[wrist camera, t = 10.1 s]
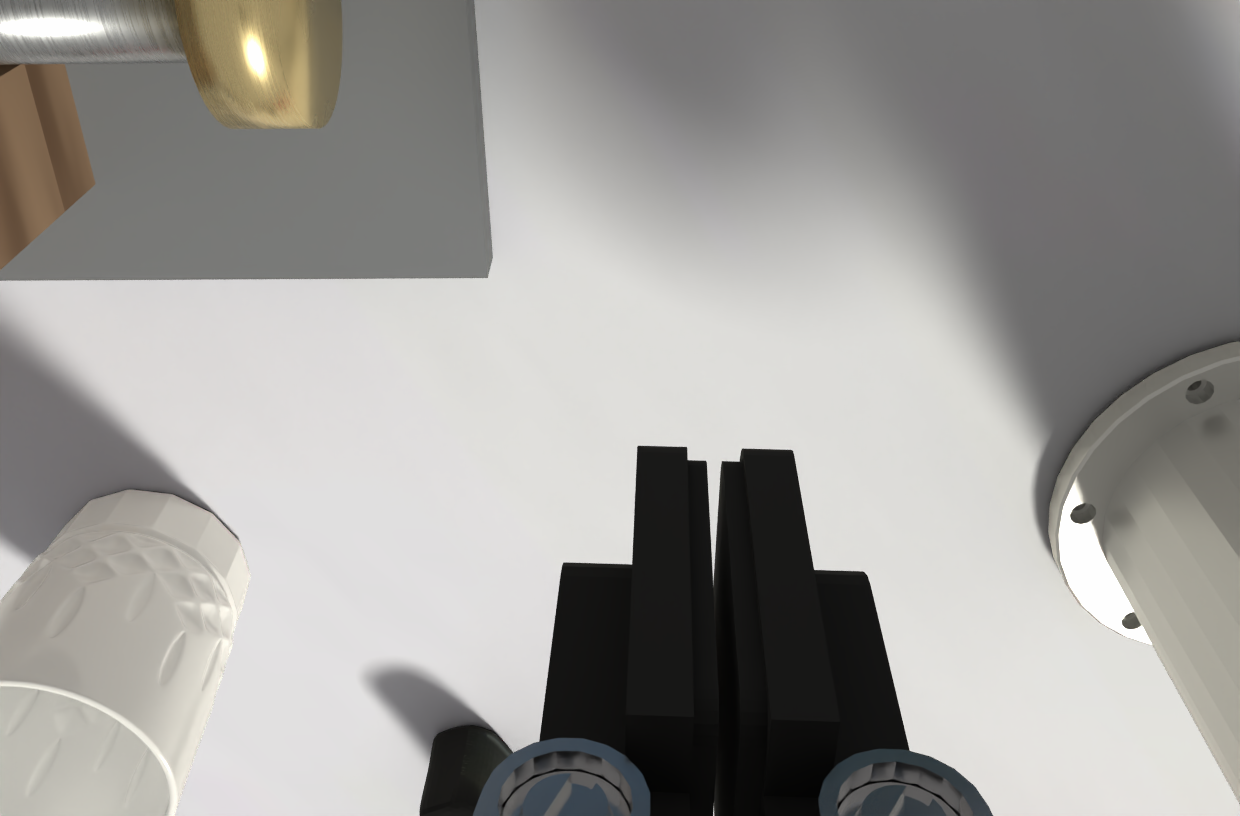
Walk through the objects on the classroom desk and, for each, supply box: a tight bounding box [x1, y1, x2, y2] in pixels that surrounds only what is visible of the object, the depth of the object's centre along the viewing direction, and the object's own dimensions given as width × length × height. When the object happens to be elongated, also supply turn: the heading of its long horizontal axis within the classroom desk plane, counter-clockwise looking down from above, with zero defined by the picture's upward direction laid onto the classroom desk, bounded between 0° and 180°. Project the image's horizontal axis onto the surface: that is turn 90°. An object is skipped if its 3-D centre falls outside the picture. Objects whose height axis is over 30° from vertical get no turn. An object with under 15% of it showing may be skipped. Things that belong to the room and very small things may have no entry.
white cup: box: [0, 489, 251, 816], centre depth 38 cm, size 8×8×10 cm
